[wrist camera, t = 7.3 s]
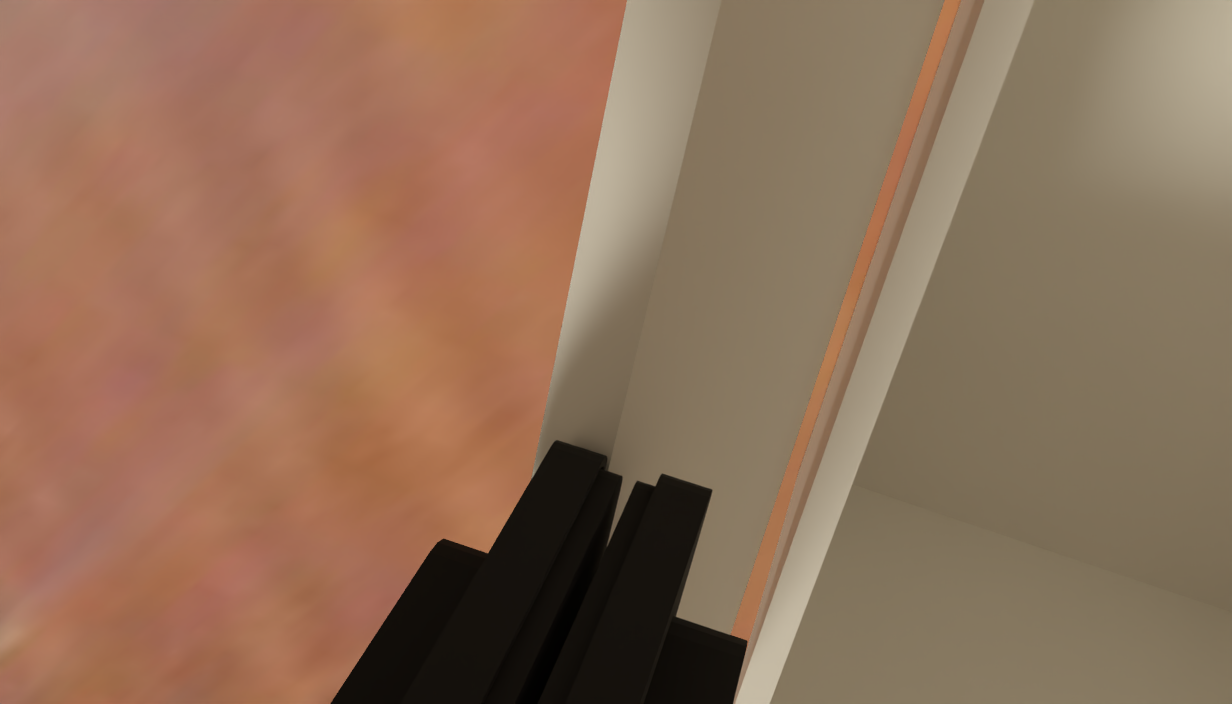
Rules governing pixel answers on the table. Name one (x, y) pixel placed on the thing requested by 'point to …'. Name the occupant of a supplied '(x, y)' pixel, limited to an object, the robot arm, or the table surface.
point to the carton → (1031, 387)
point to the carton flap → (726, 248)
